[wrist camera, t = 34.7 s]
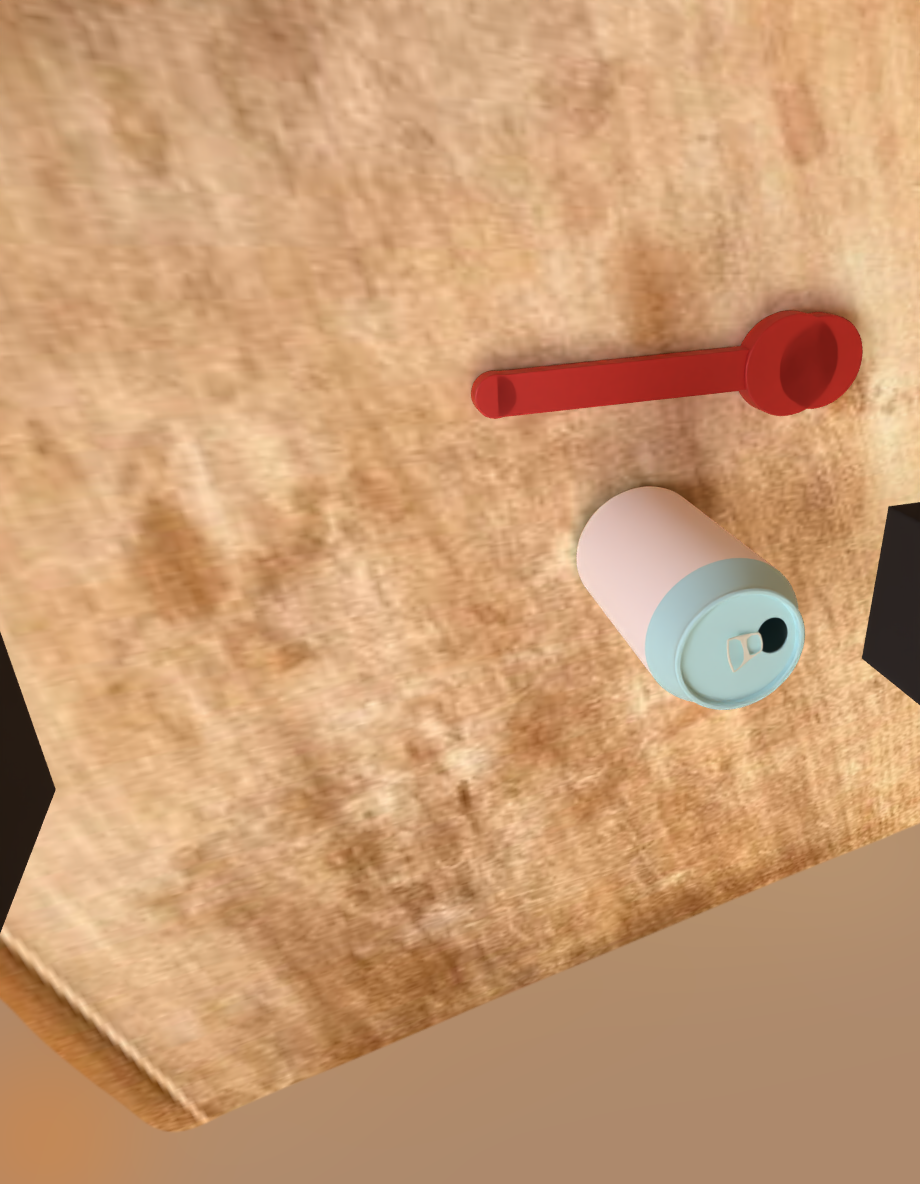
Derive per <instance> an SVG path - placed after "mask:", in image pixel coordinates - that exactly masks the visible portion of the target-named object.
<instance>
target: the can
mask: <svg viewBox="0 0 920 1184" xmlns="http://www.w3.org/2000/svg"><path fill="white" fill-rule="evenodd" d="M577 568H578V573H579V576H580V578H581V581H582V583H583V584H584V586H585V588H586V589H587V590H588V592H589V593H590V594H591V596H592V597H593V598H594V599H595V601H596V602H597V603H598V605H599V606H600V607H601V609H602V610H603V611H604V613H605V614H606V615H607V617H608V618H609V619H610V621H611V622H612V623H613V625H614V626H615V627H616V629H617V630H618V631H619V633H620V634H621V635H622V636H623V638H624V639H625V640H626V642H627V643H628V644H629V646H630V647H631V648H632V650H633V651H634V652H635V654H636V655H637V656H638V658H639V659H640V660H641V662H642V663H643V664H644V666H645V667H646V668H647V670H648V671H649V672H650V673H651V675H652V676H653V677H654V679H655V680H656V681H657V683H658V684H659V685H660V686H661V687H662V688H664V689H665V690H666V691H668V692H669V693H671V694H673V695H674V696H676V697H679V698H681V699H684V700H687V701H692V702H695V703H697V704H699V705H701V706H704V707H707V708H711V709H718V710H729V709H736V708H741V707H744V706H747V705H750V704H753V703H755V702H757V701H759V700H761V699H763V698H764V697H766V696H768V695H769V694H770V693H772V692H773V691H774V690H776V689H777V688H778V687H779V686H780V685H781V684H782V683H783V682H784V681H785V680H786V679H787V678H788V676H789V675H790V674H791V672H792V671H793V669H794V668H795V666H796V664H797V662H798V660H799V658H800V656H801V653H802V650H803V646H804V640H805V627H804V622H803V619H802V616H801V614H800V611H799V610H798V603H797V598H796V595H795V593H794V591H793V588H792V586H791V585H790V583H789V581H788V580H787V579H786V578H785V576H784V575H783V574H782V573H781V572H780V571H778V570H777V569H776V568H775V567H773V566H772V565H771V564H769V563H768V562H767V561H765V560H764V559H763V558H762V557H760V556H759V555H758V554H756V553H755V552H754V551H752V550H751V549H750V548H748V547H747V546H746V545H745V544H743V543H742V542H741V541H739V540H738V539H737V538H735V537H734V536H733V535H732V534H730V533H729V532H728V531H726V530H725V529H724V528H722V527H721V526H720V525H719V524H717V523H716V522H715V521H713V520H712V519H711V518H709V517H708V516H707V515H706V514H704V513H703V512H702V511H700V510H699V509H698V508H696V507H695V506H694V505H692V504H691V503H690V502H689V501H687V500H686V499H685V498H683V497H682V496H681V495H679V494H677V493H676V492H674V491H671V490H669V489H665V488H661V487H639V488H634V489H631V490H627V491H625V492H622V493H620V494H618V495H616V496H614V497H613V498H611V499H610V500H608V501H607V502H606V503H604V504H603V505H602V506H601V507H600V508H599V509H598V510H597V511H596V512H595V513H594V514H593V515H592V517H591V518H590V519H589V521H588V522H587V524H586V526H585V528H584V529H583V531H582V534H581V536H580V539H579V543H578V548H577Z"/></svg>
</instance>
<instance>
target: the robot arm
mask: <svg viewBox="0 0 920 1184" xmlns="http://www.w3.org/2000/svg"><path fill="white" fill-rule="evenodd" d="M862 659H863V660H865V661H866V662H867V663H868V664H870V665H871V666H872V667H873V668H874V669H876V670H877V671H878V672H879V673H881V674H882V675H883V676H884V677H886V678H887V679H888V680H889V681H891V682H892V683H893V684H894V685H896V686H897V687H898V688H899V689H901V690H902V691H903V692H904V693H905V694H907V695H908V696H909V697H910V698H912V699H913V700H914V701H915V702H917V703H918V704H919V705H920V502H918V503H911V504H903V505H896V506H889V507H888V513H887V519H886V524H885V530H884V536H883V541H882V547H881V553H880V559H879V564H878V570H877V576H876V581H875V587H874V593H873V598H872V604H871V610H870V615H869V621H868V627H867V632H866V638H865V644H864V649H863V655H862ZM55 790H56V789H55V786H54V783H53V781H52V778H51V775H50V772H49V769H48V766H47V763H46V761H45V758H44V755H43V752H42V749H41V746H40V744H39V741H38V738H37V735H36V732H35V729H34V726H33V724H32V721H31V718H30V715H29V712H28V709H27V707H26V704H25V701H24V698H23V695H22V692H21V689H20V687H19V684H18V681H17V678H16V675H15V672H14V670H13V667H12V664H11V661H10V658H9V655H8V652H7V650H6V647H5V644H4V641H3V638H2V635H1V633H0V932H1V930H2V927H3V925H4V922H5V919H6V917H7V914H8V912H9V909H10V906H11V904H12V901H13V899H14V896H15V894H16V891H17V888H18V886H19V883H20V881H21V878H22V875H23V873H24V870H25V868H26V865H27V862H28V860H29V857H30V855H31V852H32V850H33V847H34V844H35V842H36V839H37V837H38V834H39V831H40V829H41V826H42V824H43V821H44V818H45V816H46V813H47V811H48V808H49V806H50V803H51V800H52V798H53V795H54V793H55Z"/></svg>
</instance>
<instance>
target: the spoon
mask: <svg viewBox="0 0 920 1184" xmlns="http://www.w3.org/2000/svg"><path fill="white" fill-rule="evenodd" d="M862 353H863V350H862V341H861V338H860V335H859V333H858V331H857V329H856V328H855V326H854V325H853V324H852V323H851V322H850V321H848V320H847V319H845V318H843V317H841V316H838V315H833V314H829V313H824V312H812V313H804V312H800V311H793V310H789V311H781V312H777V313H774V314H772V315H770V316H768V317H766V318H765V319H763V320H761V321H760V322H759V323H758V324H756V325H755V326H754V327H753V328H752V329H751V331H750V332H749V333H748V334H747V336H746V337H745V339H744V340H743V342H742V344H741V346H736V347H727V348H717V349H707V350H697V351H688V352H678V353H668V354H659V355H649V356H639V357H629V358H620V359H610V360H600V361H591V362H581V363H571V364H561V365H552V366H542V367H532V368H522V369H513V370H503V371H488V372H485V373H483V374H481V375H480V376H479V377H478V378H477V379H476V380H475V382H474V384H473V386H472V390H471V398H472V401H473V404H474V405H475V407H476V408H477V409H478V410H479V411H480V412H481V413H482V414H483V415H484V416H486V417H489V418H494V419H497V418H502V417H507V416H516V415H525V414H534V413H543V412H552V411H561V410H570V409H579V408H588V407H597V406H606V405H615V404H624V403H633V402H642V401H651V400H660V399H669V398H678V397H687V396H696V395H705V394H714V393H723V392H732V391H739V392H740V394H741V396H742V397H743V398H744V399H745V401H746V402H748V403H749V404H750V405H752V406H753V407H755V408H757V409H759V410H761V411H764V412H766V413H768V414H771V415H776V416H787V415H792V414H796V413H799V412H801V411H803V410H805V409H814V408H819V407H822V406H826V405H828V404H830V403H832V402H833V401H835V400H837V399H838V398H839V397H840V396H842V395H843V394H844V393H845V392H846V391H847V389H848V388H849V387H850V386H851V384H852V383H853V381H854V380H855V378H856V376H857V374H858V371H859V369H860V365H861V361H862Z"/></svg>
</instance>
